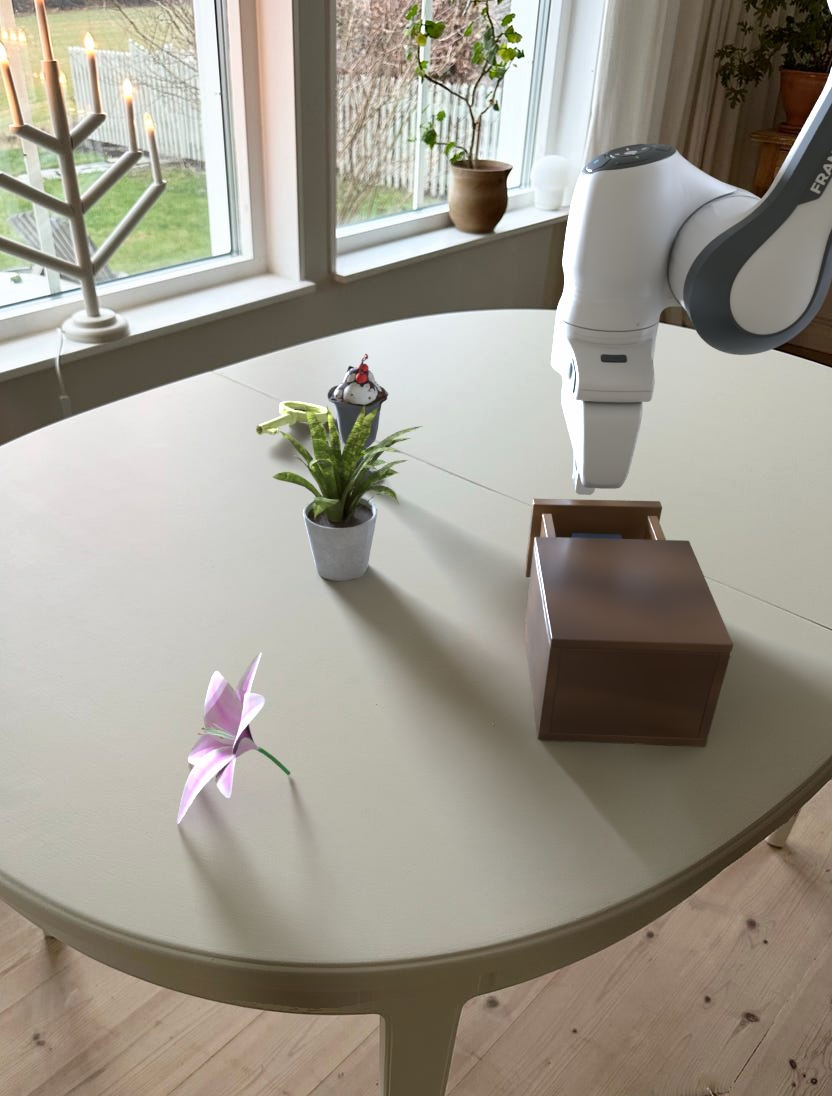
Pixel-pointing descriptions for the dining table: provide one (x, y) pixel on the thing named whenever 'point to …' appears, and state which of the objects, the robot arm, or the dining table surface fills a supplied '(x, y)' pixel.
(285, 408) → the key
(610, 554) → the cabinet
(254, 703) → the lily
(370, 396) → the sundae
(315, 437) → the house plant
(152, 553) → the dining table surface
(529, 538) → the drawer
